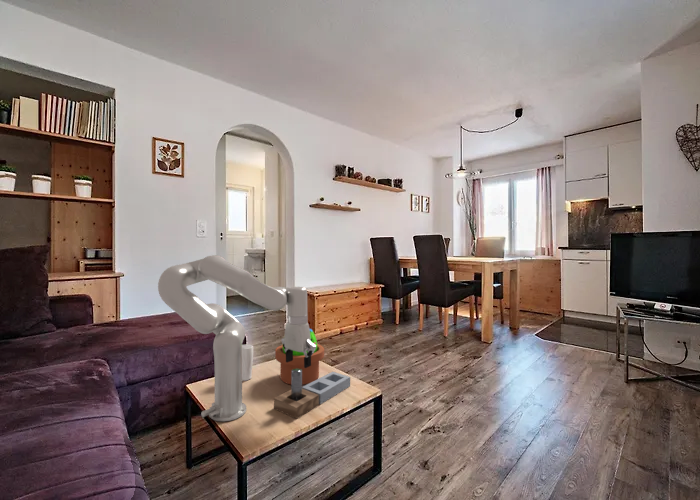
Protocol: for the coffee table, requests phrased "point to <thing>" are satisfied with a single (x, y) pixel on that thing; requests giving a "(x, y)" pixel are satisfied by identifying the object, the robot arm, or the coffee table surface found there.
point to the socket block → (296, 403)
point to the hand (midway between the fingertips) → (298, 364)
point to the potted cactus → (300, 362)
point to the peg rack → (328, 386)
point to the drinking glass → (247, 361)
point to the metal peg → (296, 384)
